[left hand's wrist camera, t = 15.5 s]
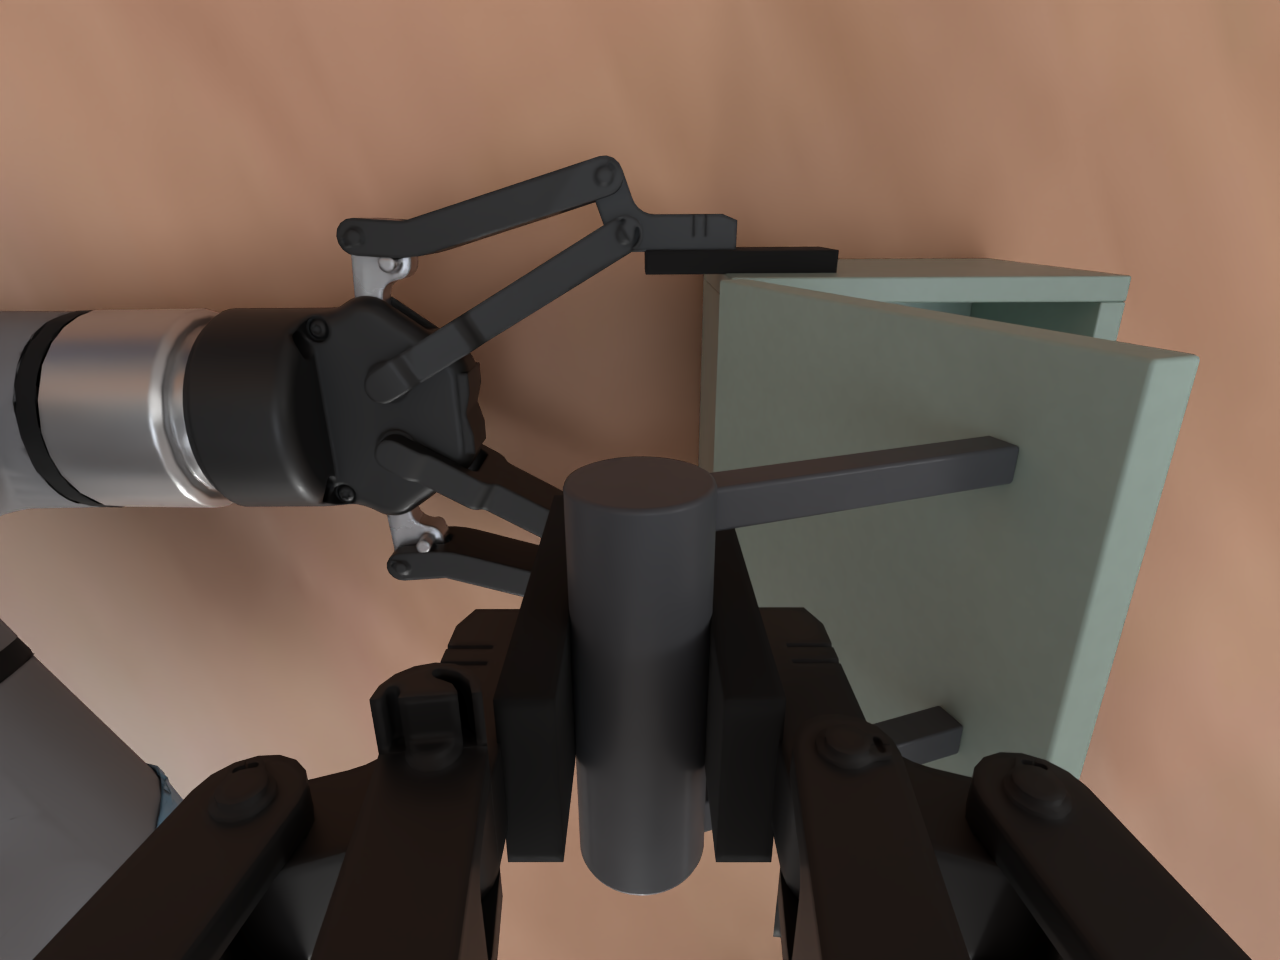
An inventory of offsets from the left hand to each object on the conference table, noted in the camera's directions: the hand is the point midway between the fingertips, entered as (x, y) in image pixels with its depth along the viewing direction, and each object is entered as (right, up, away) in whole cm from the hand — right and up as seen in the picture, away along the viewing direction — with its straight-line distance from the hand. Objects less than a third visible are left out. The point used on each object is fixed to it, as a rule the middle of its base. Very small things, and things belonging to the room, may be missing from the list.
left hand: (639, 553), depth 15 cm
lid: (+6, +1, +2) cm, 6 cm away
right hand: (+7, +5, +12) cm, 14 cm away
